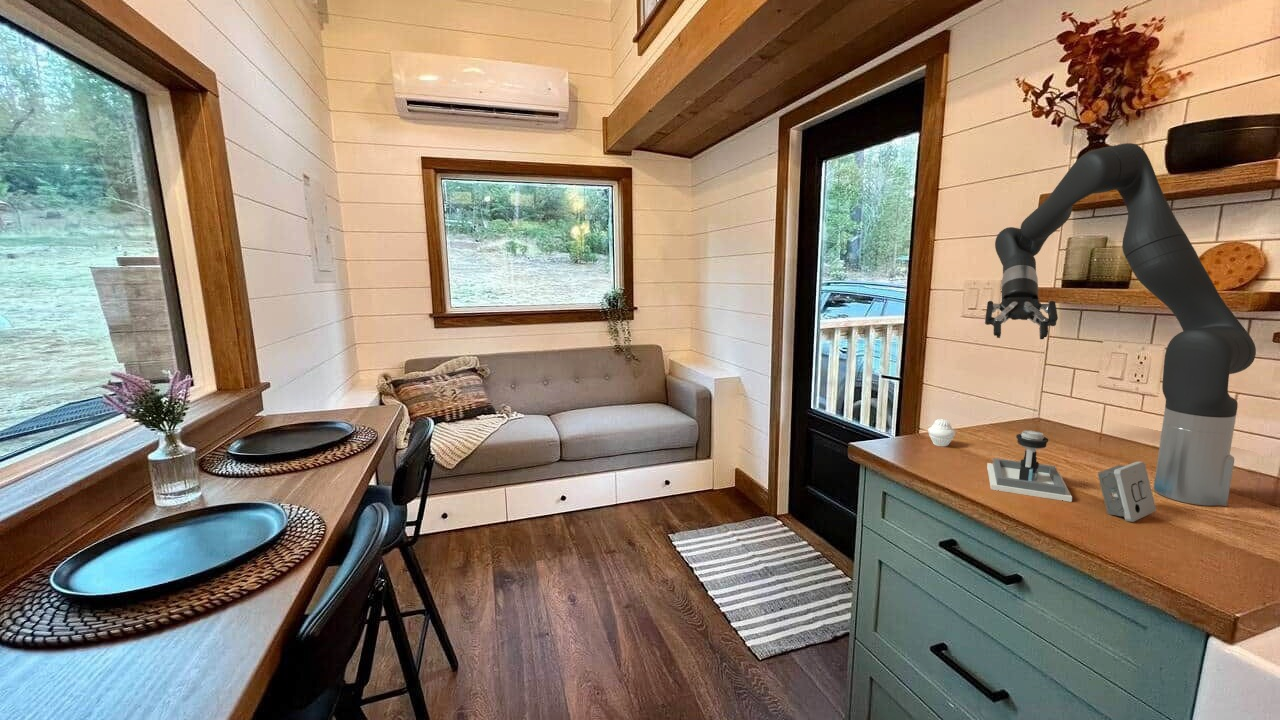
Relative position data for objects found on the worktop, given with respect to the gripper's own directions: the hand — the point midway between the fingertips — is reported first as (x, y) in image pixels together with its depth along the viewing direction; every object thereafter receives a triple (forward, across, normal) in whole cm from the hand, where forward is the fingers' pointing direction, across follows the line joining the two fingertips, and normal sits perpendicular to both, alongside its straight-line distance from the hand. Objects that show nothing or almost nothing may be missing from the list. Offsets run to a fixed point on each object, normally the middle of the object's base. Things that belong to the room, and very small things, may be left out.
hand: (1020, 336), depth 124 cm
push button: (+35, +2, +4) cm, 35 cm away
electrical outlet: (+42, +15, -1) cm, 45 cm away
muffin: (+22, -15, +19) cm, 33 cm away
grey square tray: (+36, +1, +4) cm, 37 cm away
